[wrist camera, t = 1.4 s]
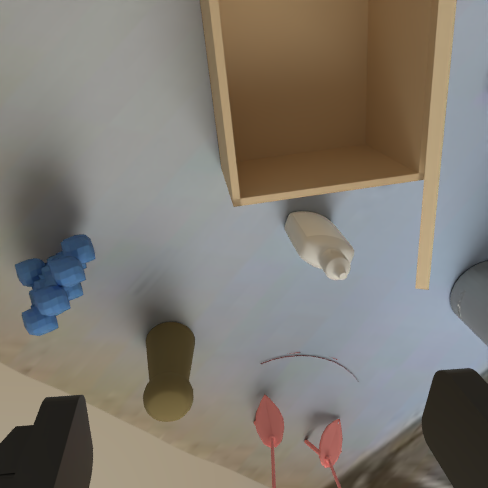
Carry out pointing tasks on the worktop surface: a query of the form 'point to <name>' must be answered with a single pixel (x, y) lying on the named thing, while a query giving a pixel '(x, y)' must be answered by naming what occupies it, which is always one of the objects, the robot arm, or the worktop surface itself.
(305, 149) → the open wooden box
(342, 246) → the eye dropper bottle
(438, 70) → the lid flap
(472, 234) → the worktop surface
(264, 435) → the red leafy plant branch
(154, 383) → the cork
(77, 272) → the grapes
